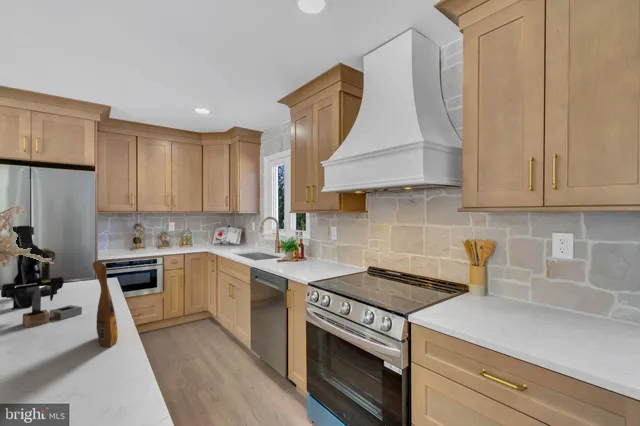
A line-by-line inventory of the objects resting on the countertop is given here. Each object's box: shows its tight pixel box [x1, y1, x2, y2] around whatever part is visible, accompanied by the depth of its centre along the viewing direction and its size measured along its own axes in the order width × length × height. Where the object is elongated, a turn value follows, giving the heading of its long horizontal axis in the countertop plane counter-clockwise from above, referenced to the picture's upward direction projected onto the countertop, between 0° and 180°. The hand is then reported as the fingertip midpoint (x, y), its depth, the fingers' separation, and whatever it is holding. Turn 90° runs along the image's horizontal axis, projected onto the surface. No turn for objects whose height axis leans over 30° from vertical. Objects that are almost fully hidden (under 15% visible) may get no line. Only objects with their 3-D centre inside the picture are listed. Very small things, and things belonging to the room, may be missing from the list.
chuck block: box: [48, 304, 83, 321], centre depth 132 cm, size 8×8×3 cm
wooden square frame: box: [22, 309, 50, 328], centre depth 123 cm, size 7×7×4 cm
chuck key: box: [26, 285, 47, 315], centre depth 123 cm, size 6×3×15 cm, turn 141°
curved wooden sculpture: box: [92, 260, 119, 348], centre depth 107 cm, size 7×19×28 cm, turn 39°
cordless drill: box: [40, 247, 58, 297], centre depth 165 cm, size 8×21×25 cm, turn 53°
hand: (36, 303), depth 122 cm, fingers open, 9 cm apart
